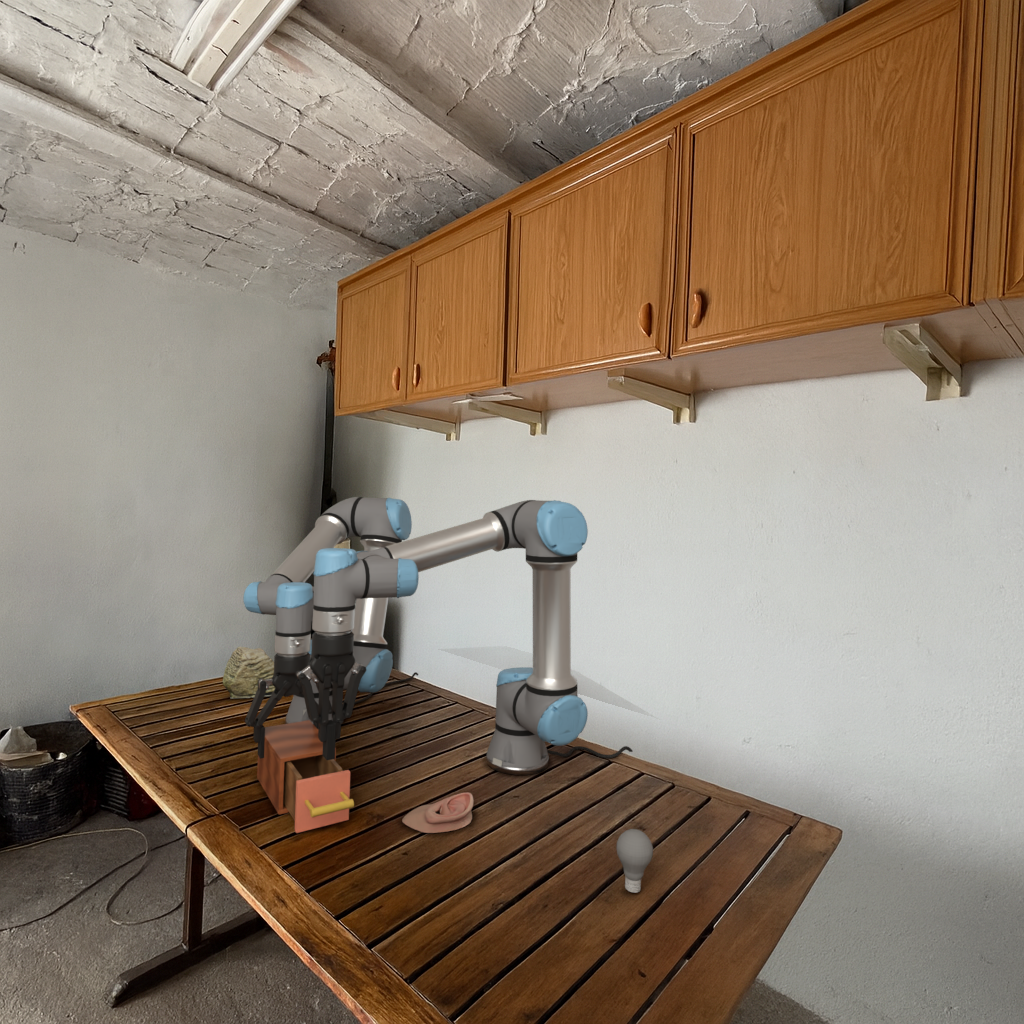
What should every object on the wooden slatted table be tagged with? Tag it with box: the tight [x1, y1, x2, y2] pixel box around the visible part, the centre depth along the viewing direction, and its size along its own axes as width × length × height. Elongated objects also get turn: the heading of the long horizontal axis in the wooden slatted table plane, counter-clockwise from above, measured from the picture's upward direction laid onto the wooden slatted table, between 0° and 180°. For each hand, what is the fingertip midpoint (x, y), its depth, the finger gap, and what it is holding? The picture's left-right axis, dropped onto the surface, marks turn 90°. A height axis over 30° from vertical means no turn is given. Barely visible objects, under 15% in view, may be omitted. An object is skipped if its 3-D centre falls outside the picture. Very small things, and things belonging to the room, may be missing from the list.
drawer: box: [283, 755, 355, 834], centre depth 125 cm, size 23×10×9 cm, turn 34°
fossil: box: [222, 646, 275, 699], centre depth 198 cm, size 9×18×15 cm, turn 132°
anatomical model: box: [401, 791, 474, 834], centre depth 126 cm, size 13×4×12 cm
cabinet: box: [256, 720, 337, 815], centre depth 136 cm, size 19×11×11 cm, turn 34°
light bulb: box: [615, 828, 654, 894], centre depth 106 cm, size 6×6×10 cm
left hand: (288, 751), depth 141 cm, fingers closed on cabinet, 11 cm apart
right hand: (328, 756), depth 118 cm, fingers closed
